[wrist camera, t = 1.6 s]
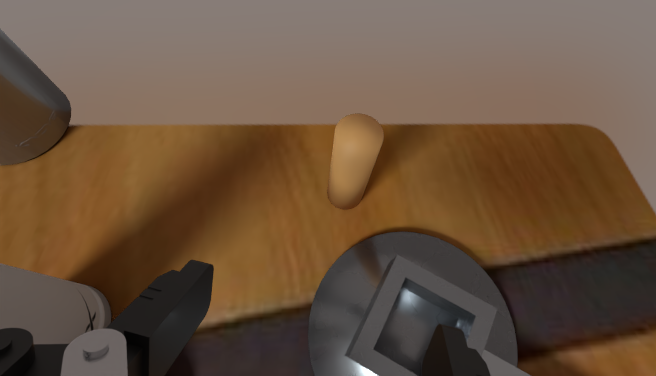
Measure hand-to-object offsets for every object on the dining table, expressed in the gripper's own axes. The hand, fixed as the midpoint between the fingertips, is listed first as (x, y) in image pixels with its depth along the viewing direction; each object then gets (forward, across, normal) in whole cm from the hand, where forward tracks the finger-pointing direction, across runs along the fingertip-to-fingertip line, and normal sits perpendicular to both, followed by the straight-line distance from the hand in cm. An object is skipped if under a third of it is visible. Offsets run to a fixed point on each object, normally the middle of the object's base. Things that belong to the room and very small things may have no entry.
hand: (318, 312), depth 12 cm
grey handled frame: (+12, -10, +11) cm, 20 cm away
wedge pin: (+20, 0, +3) cm, 20 cm away
